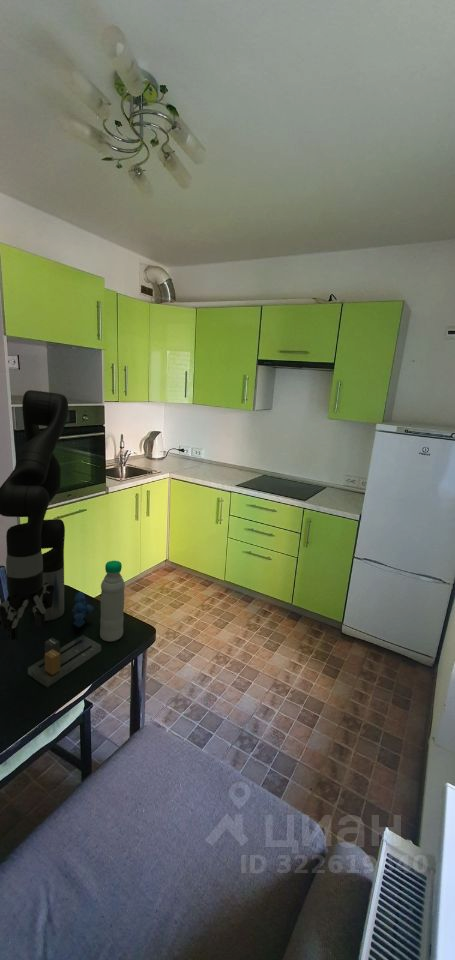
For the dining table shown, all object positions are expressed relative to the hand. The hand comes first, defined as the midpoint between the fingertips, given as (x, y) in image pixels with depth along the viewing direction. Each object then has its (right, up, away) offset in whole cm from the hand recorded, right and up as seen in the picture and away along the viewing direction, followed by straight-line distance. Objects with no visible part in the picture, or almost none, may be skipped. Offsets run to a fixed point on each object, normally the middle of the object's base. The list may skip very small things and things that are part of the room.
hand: (26, 632), depth 94 cm
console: (+3, -15, +16) cm, 22 cm away
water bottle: (+12, -13, +29) cm, 34 cm away
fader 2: (+2, -14, +9) cm, 17 cm away
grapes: (+1, -11, +33) cm, 35 cm away
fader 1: (0, -12, +14) cm, 19 cm away
